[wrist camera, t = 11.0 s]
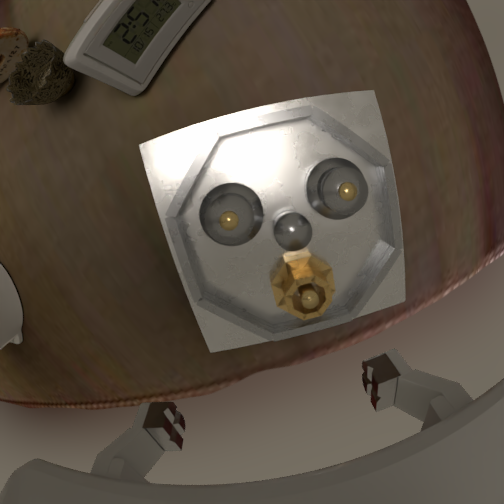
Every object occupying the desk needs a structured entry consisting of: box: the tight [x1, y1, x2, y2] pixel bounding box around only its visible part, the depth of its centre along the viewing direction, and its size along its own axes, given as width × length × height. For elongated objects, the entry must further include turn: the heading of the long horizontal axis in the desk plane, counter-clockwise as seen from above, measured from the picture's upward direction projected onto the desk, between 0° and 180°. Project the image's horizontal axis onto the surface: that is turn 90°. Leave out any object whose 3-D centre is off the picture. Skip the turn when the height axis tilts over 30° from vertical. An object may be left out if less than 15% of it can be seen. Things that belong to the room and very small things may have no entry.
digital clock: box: [63, 0, 211, 96], centre depth 17 cm, size 16×9×11 cm, turn 138°
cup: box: [6, 40, 75, 105], centre depth 19 cm, size 8×7×8 cm
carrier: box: [139, 90, 405, 353], centre depth 26 cm, size 25×25×6 cm
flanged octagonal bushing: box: [270, 251, 336, 320], centre depth 27 cm, size 6×6×4 cm
